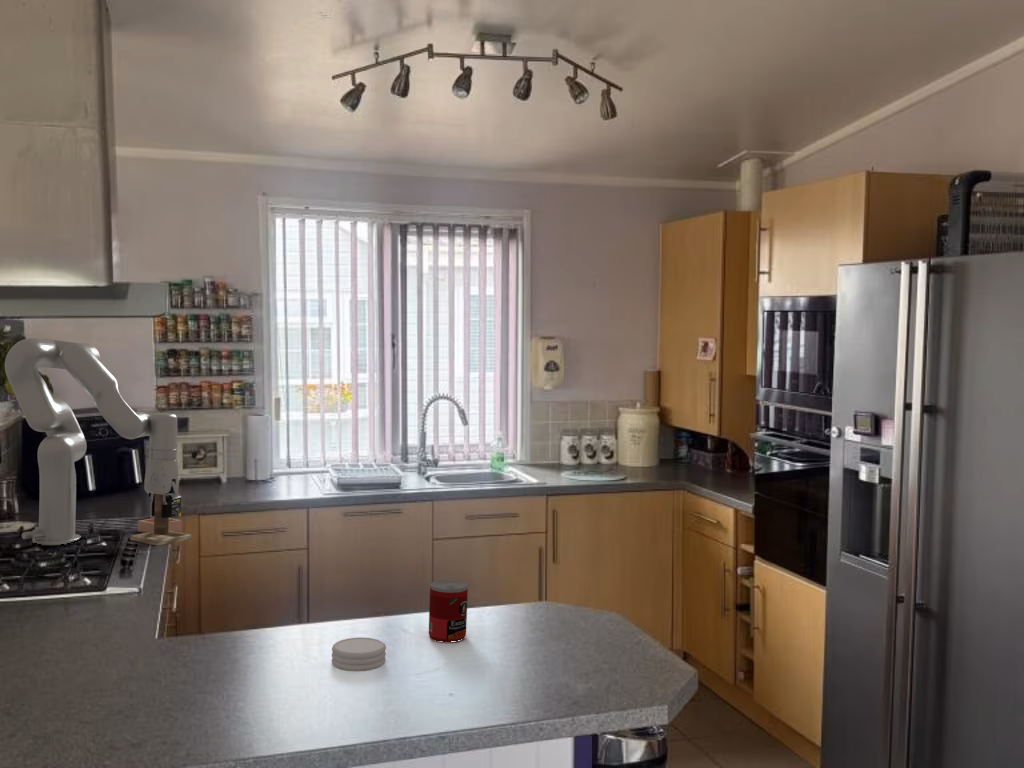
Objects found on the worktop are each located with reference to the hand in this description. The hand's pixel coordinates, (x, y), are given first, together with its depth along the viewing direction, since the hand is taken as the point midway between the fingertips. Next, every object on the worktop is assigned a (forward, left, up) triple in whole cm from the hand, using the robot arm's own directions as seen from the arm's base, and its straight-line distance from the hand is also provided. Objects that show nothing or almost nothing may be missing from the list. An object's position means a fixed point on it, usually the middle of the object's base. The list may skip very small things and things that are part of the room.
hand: (161, 515), depth 261 cm
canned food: (-23, -119, -8) cm, 122 cm away
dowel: (0, 0, -5) cm, 5 cm away
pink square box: (+8, +11, -8) cm, 16 cm away
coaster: (-45, -114, -8) cm, 123 cm away
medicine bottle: (+26, +31, -8) cm, 41 cm away
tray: (0, 0, -8) cm, 8 cm away
